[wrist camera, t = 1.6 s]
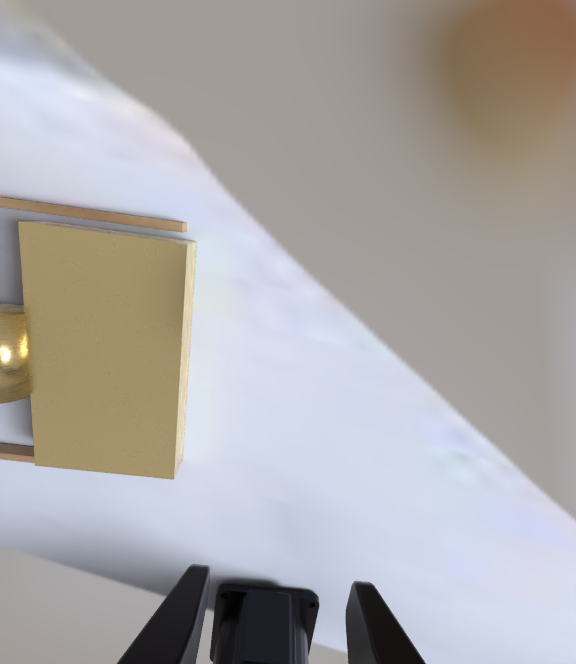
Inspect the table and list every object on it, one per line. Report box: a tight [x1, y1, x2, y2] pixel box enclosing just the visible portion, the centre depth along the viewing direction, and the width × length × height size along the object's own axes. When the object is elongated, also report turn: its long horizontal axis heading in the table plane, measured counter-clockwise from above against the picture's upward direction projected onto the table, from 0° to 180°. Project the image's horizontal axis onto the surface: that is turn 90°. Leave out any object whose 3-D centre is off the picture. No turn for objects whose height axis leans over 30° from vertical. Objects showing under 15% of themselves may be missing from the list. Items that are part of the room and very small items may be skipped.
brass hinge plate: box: [0, 221, 197, 479], centre depth 18 cm, size 12×9×3 cm
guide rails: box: [0, 197, 187, 463], centre depth 19 cm, size 14×12×1 cm
